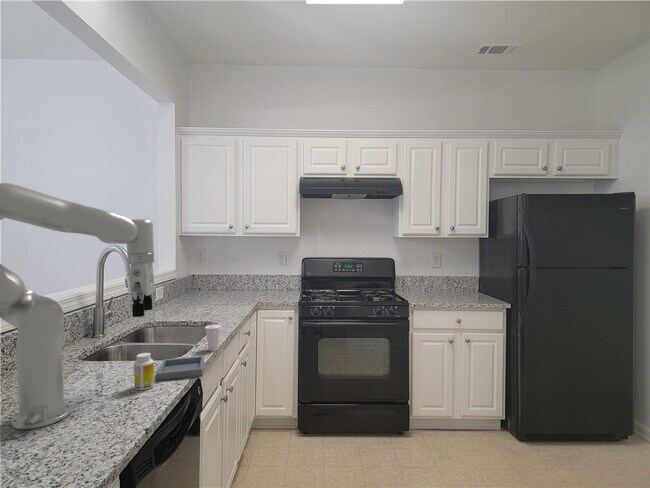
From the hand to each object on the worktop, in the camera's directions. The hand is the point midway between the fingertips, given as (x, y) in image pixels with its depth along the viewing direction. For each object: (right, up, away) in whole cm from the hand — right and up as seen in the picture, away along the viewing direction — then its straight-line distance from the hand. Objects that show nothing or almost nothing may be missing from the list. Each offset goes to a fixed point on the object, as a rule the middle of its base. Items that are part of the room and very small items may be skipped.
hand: (142, 313), depth 121 cm
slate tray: (+8, -22, +12) cm, 26 cm away
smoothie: (+12, -22, +36) cm, 43 cm away
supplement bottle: (+1, -23, -1) cm, 23 cm away
